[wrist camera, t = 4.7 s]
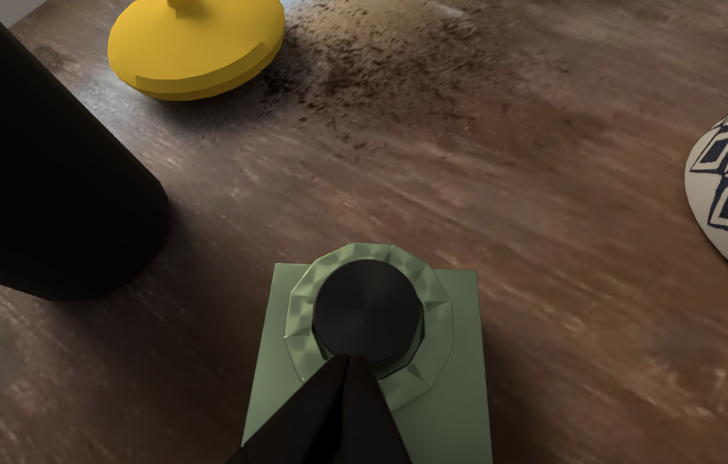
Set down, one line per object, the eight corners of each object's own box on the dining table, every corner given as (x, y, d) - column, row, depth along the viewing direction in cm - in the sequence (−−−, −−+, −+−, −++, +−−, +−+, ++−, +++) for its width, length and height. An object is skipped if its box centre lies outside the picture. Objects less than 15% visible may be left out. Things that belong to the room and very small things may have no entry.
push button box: (467, 498, 18) (514, 550, 11) (272, 480, 19) (207, 519, 12) (456, 295, 22) (485, 246, 16) (301, 288, 23) (265, 239, 17)
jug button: (416, 374, 14) (420, 369, 12) (316, 368, 14) (305, 361, 12) (416, 277, 16) (419, 259, 14) (326, 273, 16) (318, 256, 14)
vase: (127, 31, 37) (74, -46, 31) (274, -7, 39) (252, -88, 32) (131, 142, 30) (63, 70, 24) (311, 90, 31) (291, 10, 25)
